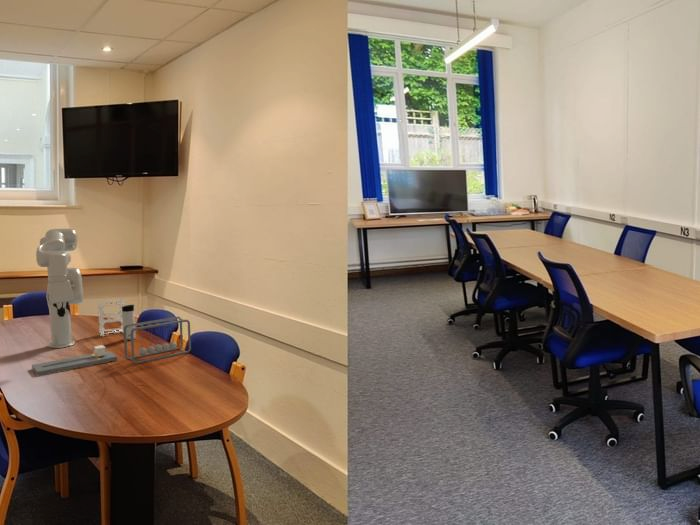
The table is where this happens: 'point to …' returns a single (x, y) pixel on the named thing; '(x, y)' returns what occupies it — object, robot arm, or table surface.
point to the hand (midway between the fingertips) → (61, 316)
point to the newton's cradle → (158, 347)
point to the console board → (72, 363)
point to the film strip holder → (102, 321)
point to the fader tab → (99, 350)
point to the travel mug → (128, 320)
